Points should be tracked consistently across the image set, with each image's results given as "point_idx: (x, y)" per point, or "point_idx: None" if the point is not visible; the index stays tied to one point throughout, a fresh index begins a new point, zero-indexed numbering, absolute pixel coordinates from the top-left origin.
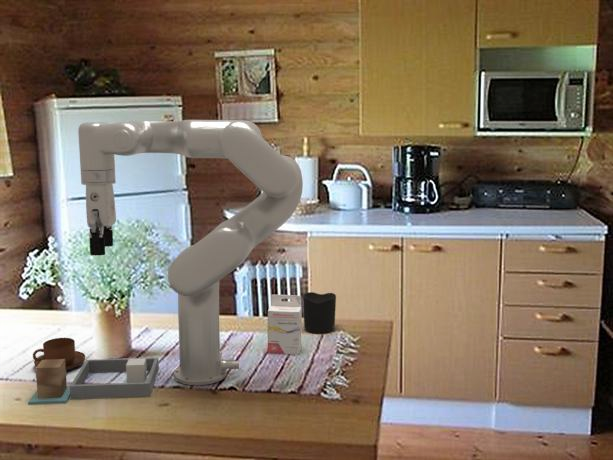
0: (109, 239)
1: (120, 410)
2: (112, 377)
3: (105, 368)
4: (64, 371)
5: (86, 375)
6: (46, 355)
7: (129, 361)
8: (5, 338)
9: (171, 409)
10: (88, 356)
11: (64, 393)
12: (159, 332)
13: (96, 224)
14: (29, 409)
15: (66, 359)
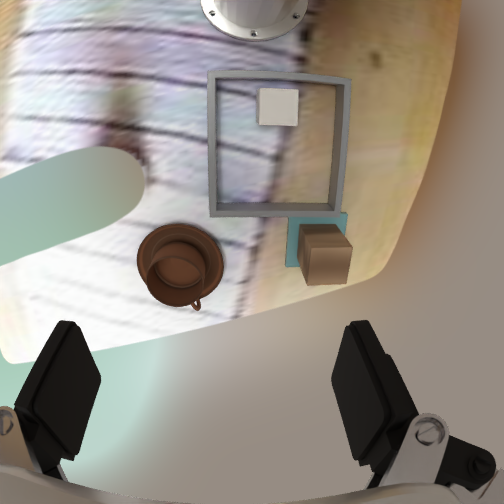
0: (67, 368)
1: (387, 126)
2: (244, 155)
3: (216, 175)
4: (315, 238)
5: (242, 204)
6: (198, 289)
7: (275, 121)
8: None
9: (393, 51)
10: (135, 224)
11: (320, 222)
12: (18, 127)
13: (497, 500)
14: (354, 257)
15: (198, 253)
